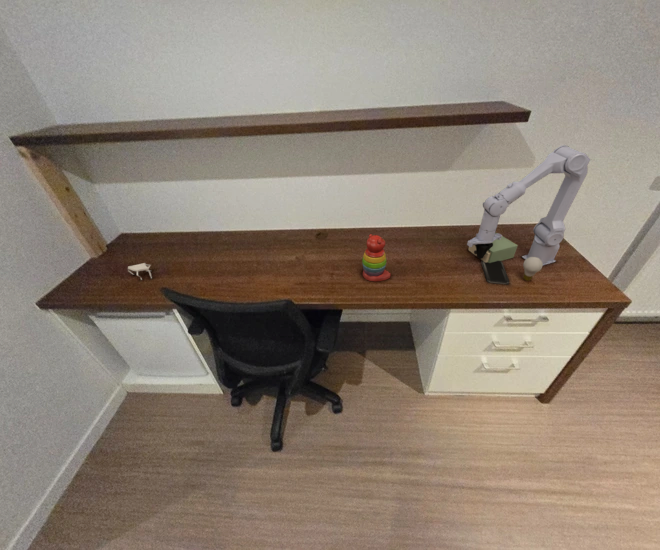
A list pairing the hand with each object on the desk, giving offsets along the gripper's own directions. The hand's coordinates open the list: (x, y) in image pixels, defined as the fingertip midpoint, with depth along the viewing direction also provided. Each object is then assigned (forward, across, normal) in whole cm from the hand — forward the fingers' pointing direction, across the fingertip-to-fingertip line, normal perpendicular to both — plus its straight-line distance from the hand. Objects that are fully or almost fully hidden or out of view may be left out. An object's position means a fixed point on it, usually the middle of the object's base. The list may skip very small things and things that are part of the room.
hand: (479, 257), depth 123 cm
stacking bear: (+3, +43, -9) cm, 44 cm away
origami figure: (+2, +136, -48) cm, 144 cm away
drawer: (+2, -7, -3) cm, 7 cm away
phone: (+3, -1, +8) cm, 9 cm away
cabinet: (+2, -9, -3) cm, 10 cm away
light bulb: (+3, -8, +16) cm, 19 cm away
